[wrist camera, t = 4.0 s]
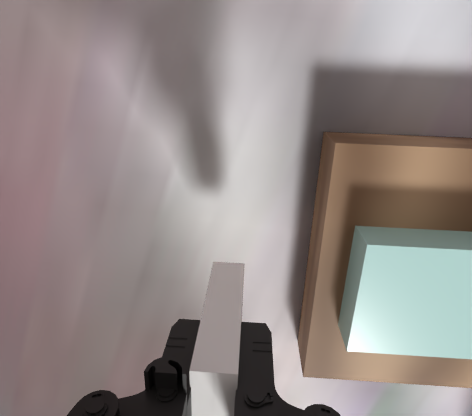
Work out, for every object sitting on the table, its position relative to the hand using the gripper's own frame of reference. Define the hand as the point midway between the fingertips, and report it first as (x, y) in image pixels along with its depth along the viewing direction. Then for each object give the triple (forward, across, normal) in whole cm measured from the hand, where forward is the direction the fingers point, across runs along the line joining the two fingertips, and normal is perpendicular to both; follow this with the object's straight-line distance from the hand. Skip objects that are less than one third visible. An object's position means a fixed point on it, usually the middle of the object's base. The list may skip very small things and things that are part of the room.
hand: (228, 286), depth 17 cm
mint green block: (+2, +11, 0) cm, 11 cm away
